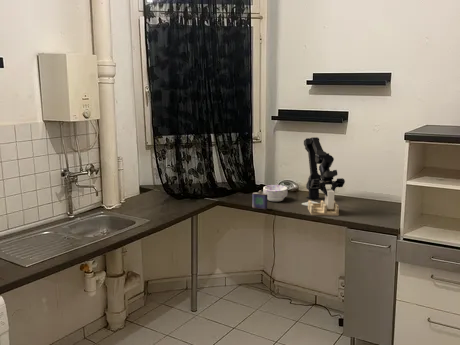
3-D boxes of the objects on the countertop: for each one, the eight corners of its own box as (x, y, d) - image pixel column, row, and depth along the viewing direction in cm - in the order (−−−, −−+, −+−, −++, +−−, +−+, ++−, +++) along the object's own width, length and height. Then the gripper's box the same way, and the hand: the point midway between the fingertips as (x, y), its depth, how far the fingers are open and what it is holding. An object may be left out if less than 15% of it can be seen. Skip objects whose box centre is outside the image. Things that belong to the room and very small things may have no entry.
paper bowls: (267, 203, 287) (267, 190, 286) (260, 197, 302) (260, 185, 300) (291, 202, 291) (291, 189, 289) (282, 196, 305) (282, 184, 304)
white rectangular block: (327, 209, 266) (328, 191, 264) (324, 206, 272) (325, 189, 270) (333, 208, 266) (334, 191, 264) (330, 205, 272) (331, 189, 270)
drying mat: (301, 204, 285) (301, 203, 285) (311, 201, 291) (311, 200, 291) (316, 208, 276) (316, 207, 276) (326, 205, 282) (326, 204, 282)
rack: (307, 208, 276) (308, 199, 275) (333, 208, 276) (334, 200, 275) (311, 215, 262) (311, 206, 261) (338, 215, 262) (339, 206, 261)
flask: (251, 208, 278) (251, 190, 275) (253, 206, 280) (253, 189, 278) (266, 209, 274) (266, 191, 272) (268, 208, 276) (268, 190, 274)
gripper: (312, 165, 267) (317, 188, 259) (344, 164, 269) (350, 188, 260) (308, 175, 276) (312, 199, 268) (339, 175, 278) (344, 198, 270)
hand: (330, 195), depth 266 cm, fingers closed on white rectangular block, 3 cm apart
